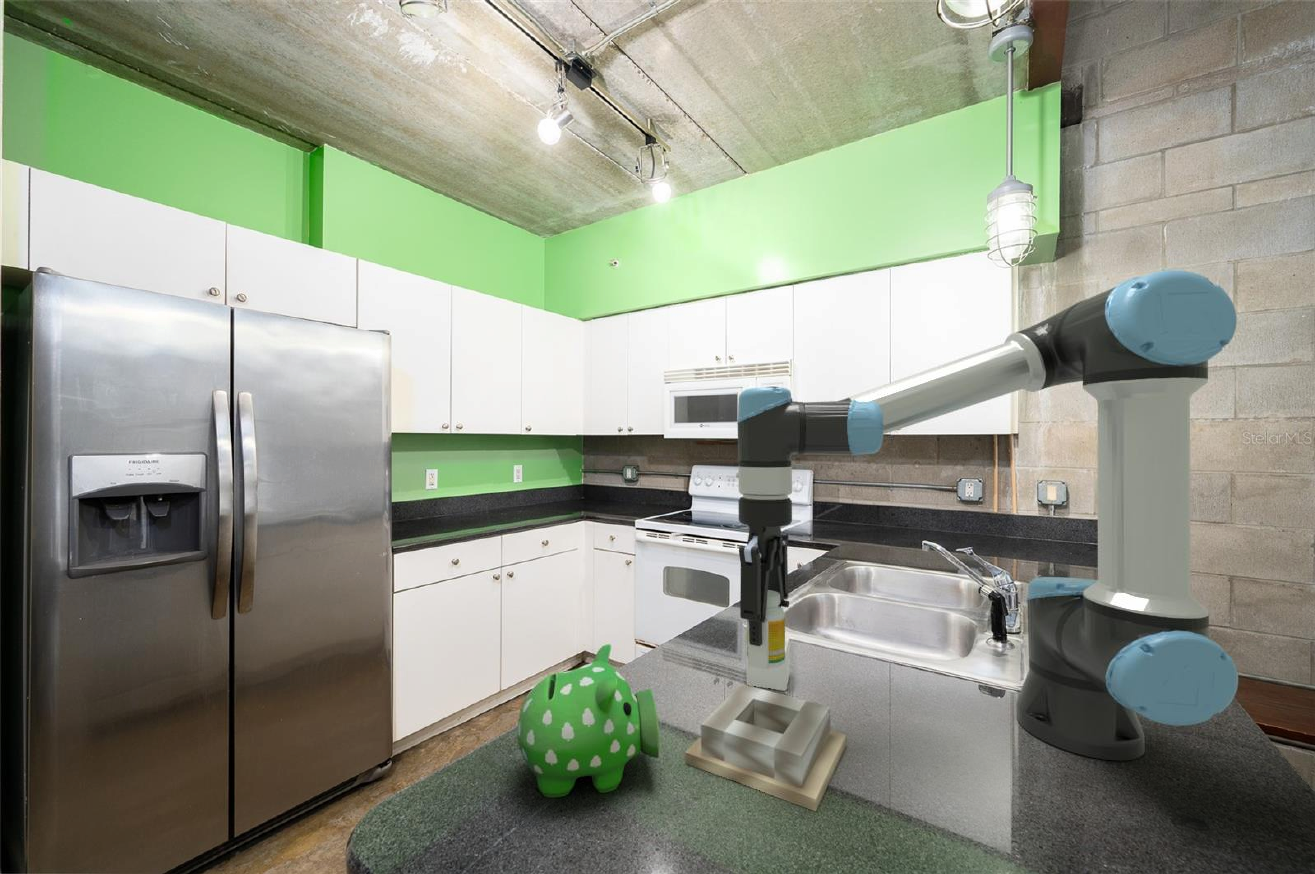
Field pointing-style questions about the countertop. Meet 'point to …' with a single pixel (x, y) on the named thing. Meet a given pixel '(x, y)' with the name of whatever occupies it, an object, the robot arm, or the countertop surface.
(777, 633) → the supplement bottle
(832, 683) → the countertop surface
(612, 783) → the piggy bank
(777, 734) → the block
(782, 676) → the medicine bottle
